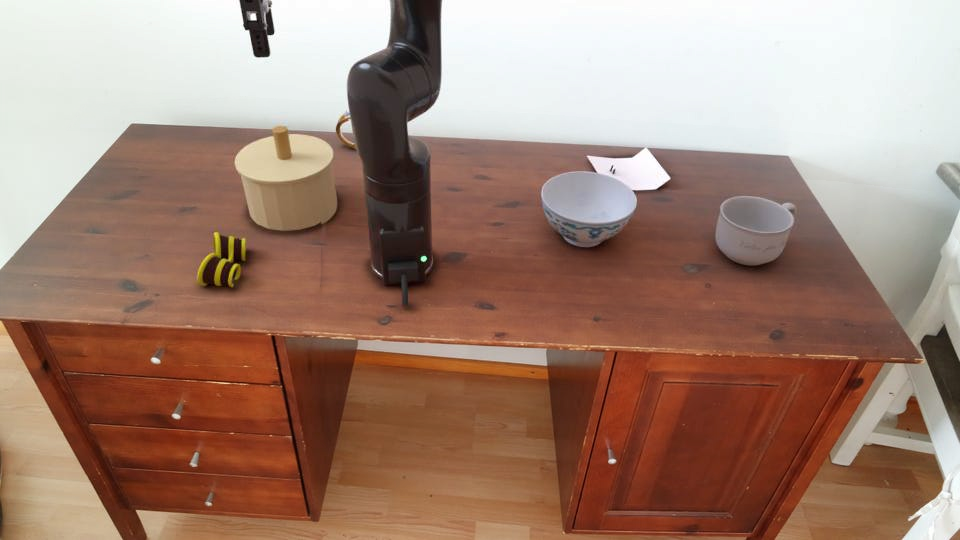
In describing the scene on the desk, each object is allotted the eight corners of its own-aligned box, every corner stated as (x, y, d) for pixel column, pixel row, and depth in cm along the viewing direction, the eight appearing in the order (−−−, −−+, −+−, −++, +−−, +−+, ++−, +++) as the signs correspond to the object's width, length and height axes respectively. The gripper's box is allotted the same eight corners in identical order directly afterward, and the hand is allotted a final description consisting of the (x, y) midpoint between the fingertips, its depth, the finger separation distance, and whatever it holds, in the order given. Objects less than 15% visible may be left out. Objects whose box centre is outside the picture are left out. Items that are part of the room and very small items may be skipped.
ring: (375, 145, 130) (372, 108, 125) (371, 153, 127) (368, 115, 122) (341, 142, 130) (337, 105, 125) (336, 150, 128) (332, 112, 123)
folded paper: (585, 160, 128) (587, 151, 126) (644, 156, 130) (646, 147, 128) (606, 193, 118) (608, 184, 117) (669, 188, 121) (671, 179, 119)
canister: (337, 229, 107) (331, 179, 101) (245, 236, 105) (233, 185, 99) (337, 183, 118) (331, 136, 112) (253, 188, 116) (243, 140, 110)
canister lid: (334, 184, 102) (329, 150, 98) (230, 190, 99) (222, 156, 96) (334, 137, 113) (330, 105, 110) (241, 142, 111) (234, 110, 107)
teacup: (732, 279, 100) (747, 236, 95) (696, 238, 109) (708, 197, 103) (809, 266, 104) (827, 224, 99) (768, 227, 112) (783, 187, 107)
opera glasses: (235, 296, 95) (235, 270, 92) (197, 292, 94) (196, 265, 91) (249, 255, 103) (250, 230, 100) (214, 251, 102) (213, 225, 99)
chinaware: (646, 252, 105) (655, 212, 100) (562, 271, 101) (568, 231, 96) (599, 203, 116) (606, 165, 111) (522, 219, 111) (525, 180, 106)
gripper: (219, -92, 89) (243, 29, 99) (203, -67, 78) (232, 65, 88) (276, -92, 90) (294, 27, 100) (268, -68, 79) (289, 63, 89)
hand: (265, 45), depth 94 cm, fingers open, 8 cm apart
